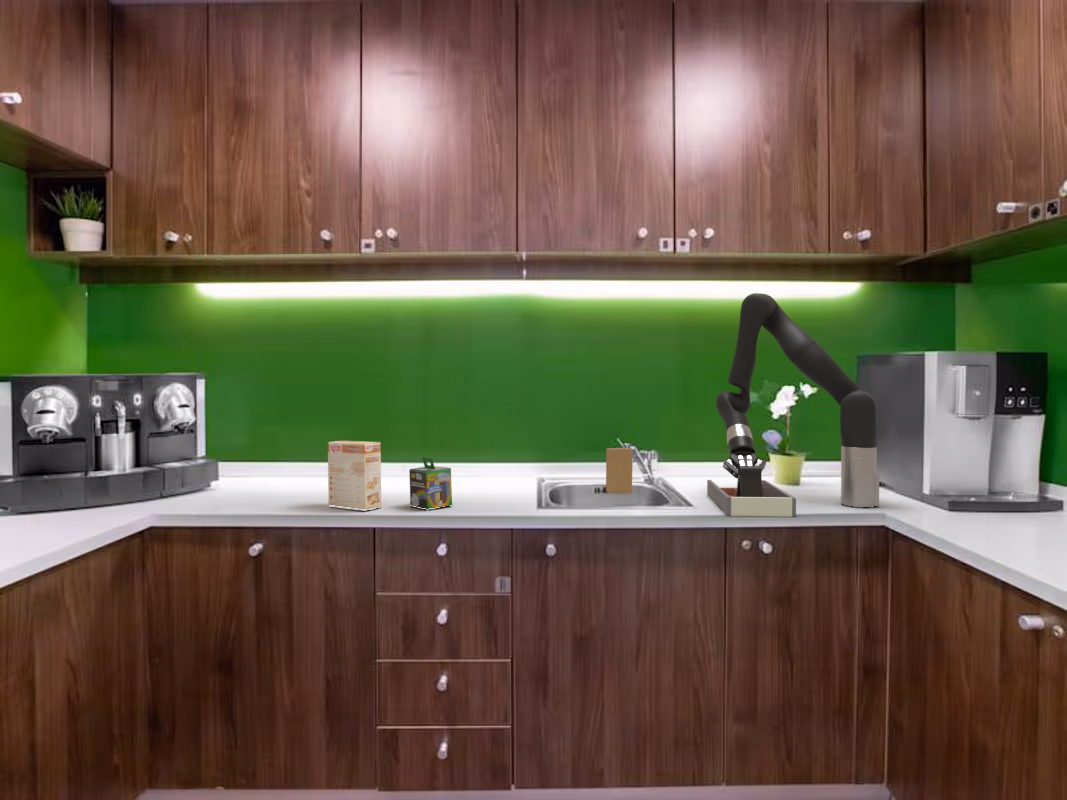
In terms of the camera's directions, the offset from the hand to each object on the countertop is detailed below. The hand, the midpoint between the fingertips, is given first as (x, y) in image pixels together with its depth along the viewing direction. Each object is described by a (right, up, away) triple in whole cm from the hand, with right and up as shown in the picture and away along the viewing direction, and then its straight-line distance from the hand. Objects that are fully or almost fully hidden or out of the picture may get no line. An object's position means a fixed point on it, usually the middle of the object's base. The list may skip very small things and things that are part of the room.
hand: (748, 488), depth 188 cm
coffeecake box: (-115, -6, +2) cm, 115 cm away
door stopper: (0, -6, -1) cm, 6 cm away
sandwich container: (-34, -5, +32) cm, 47 cm away
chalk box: (-93, -6, +3) cm, 93 cm away
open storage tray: (0, -5, +2) cm, 6 cm away
